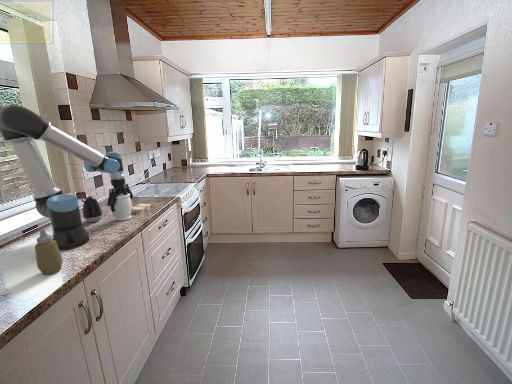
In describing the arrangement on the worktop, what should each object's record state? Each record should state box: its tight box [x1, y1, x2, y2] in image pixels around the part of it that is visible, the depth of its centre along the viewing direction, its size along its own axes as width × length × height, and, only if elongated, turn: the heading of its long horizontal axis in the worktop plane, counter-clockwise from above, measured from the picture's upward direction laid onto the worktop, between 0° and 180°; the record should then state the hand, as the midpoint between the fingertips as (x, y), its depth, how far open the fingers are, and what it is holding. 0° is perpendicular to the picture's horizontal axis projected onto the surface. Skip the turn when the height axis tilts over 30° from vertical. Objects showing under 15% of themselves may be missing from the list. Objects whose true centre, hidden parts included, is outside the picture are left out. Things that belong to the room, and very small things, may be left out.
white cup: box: [115, 193, 133, 221], centre depth 165 cm, size 11×10×15 cm
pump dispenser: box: [81, 195, 103, 223], centre depth 162 cm, size 10×10×15 cm
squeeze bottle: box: [34, 227, 63, 276], centre depth 105 cm, size 8×8×18 cm
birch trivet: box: [130, 203, 154, 215], centre depth 182 cm, size 14×9×2 cm, turn 168°
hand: (123, 212), depth 165 cm, fingers open, 13 cm apart
